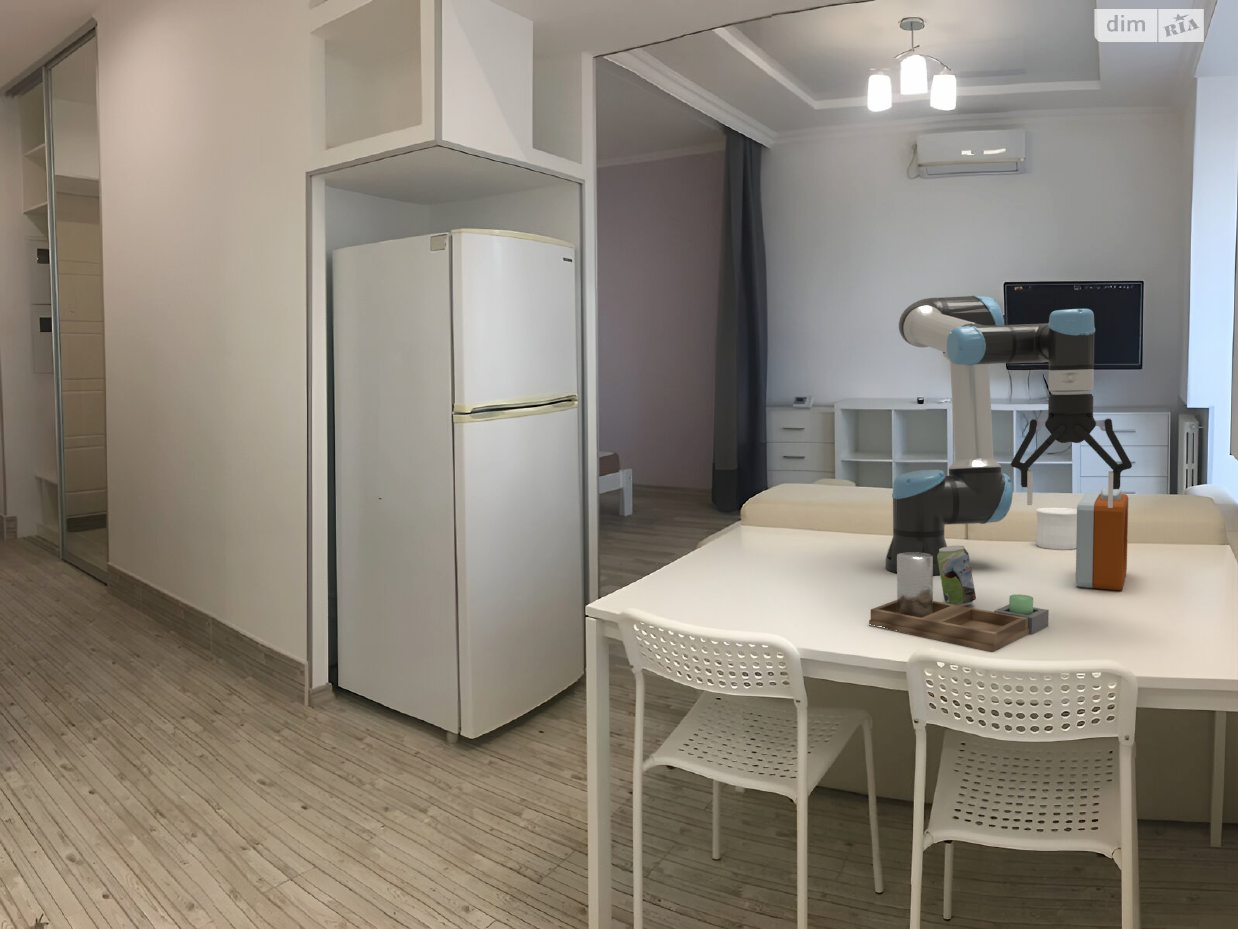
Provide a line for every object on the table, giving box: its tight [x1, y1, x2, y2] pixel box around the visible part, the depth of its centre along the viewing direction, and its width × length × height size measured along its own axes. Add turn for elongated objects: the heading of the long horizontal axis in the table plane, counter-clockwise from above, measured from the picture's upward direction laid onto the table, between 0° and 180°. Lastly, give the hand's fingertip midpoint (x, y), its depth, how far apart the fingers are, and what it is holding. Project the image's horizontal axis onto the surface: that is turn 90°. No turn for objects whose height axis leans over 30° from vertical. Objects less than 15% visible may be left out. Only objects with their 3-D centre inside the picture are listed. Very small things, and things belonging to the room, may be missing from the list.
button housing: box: [993, 604, 1050, 635], centre depth 166 cm, size 7×7×3 cm
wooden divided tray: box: [868, 599, 1030, 653], centre depth 165 cm, size 24×14×3 cm, turn 42°
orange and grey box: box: [1075, 487, 1129, 592], centre depth 196 cm, size 18×9×21 cm, turn 148°
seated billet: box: [896, 552, 934, 618], centre depth 170 cm, size 6×6×12 cm
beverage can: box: [937, 545, 977, 607], centre depth 181 cm, size 6×7×12 cm
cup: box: [1035, 507, 1077, 551], centre depth 233 cm, size 10×10×10 cm
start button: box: [1008, 594, 1034, 615], centre depth 165 cm, size 4×4×4 cm
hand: (1069, 505), depth 169 cm, fingers open, 13 cm apart
